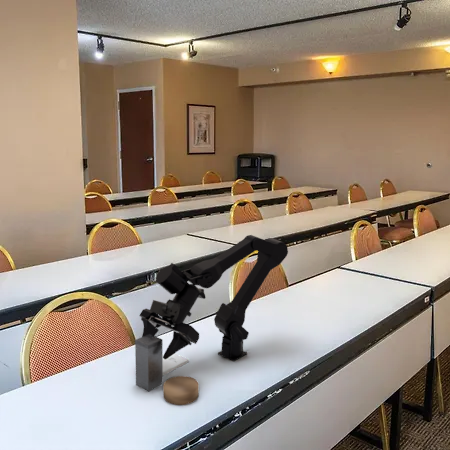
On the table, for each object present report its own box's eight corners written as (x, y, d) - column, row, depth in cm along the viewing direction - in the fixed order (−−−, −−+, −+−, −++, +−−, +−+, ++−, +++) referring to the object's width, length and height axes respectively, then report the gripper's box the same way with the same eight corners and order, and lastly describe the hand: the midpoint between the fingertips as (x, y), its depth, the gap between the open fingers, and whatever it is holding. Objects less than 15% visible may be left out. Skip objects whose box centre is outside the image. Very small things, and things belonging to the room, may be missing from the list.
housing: (150, 378, 139) (149, 334, 137) (162, 384, 136) (162, 339, 134) (135, 385, 136) (135, 339, 133) (148, 391, 132) (147, 345, 130)
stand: (181, 382, 137) (181, 372, 137) (205, 394, 132) (205, 384, 131) (156, 395, 131) (156, 385, 130) (180, 409, 125) (181, 398, 124)
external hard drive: (138, 370, 145) (168, 355, 154) (158, 379, 140) (188, 363, 149) (138, 365, 144) (168, 350, 154) (158, 374, 139) (188, 358, 149)
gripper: (144, 280, 142) (112, 329, 136) (192, 297, 130) (160, 350, 124) (165, 300, 149) (135, 347, 143) (212, 317, 137) (182, 369, 131)
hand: (152, 353), depth 135 cm, fingers open, 9 cm apart
